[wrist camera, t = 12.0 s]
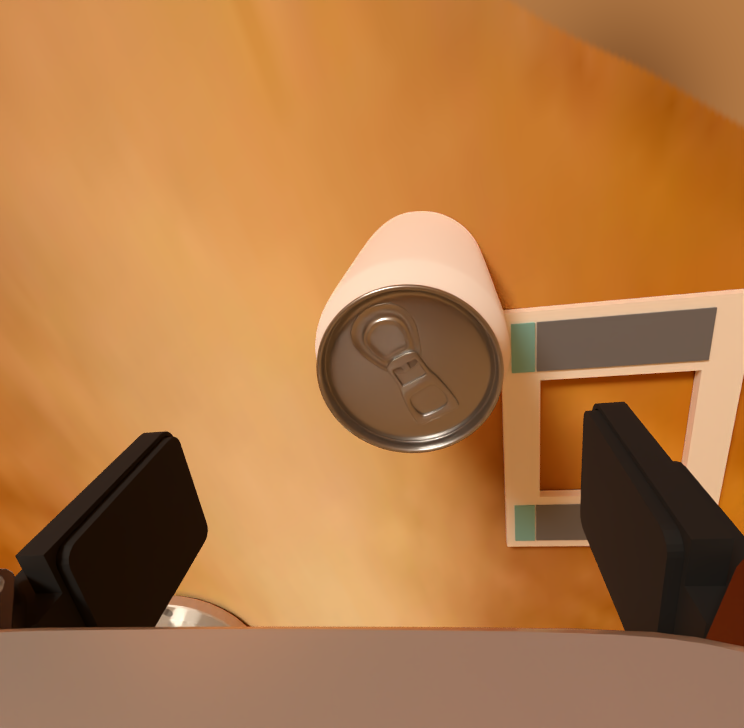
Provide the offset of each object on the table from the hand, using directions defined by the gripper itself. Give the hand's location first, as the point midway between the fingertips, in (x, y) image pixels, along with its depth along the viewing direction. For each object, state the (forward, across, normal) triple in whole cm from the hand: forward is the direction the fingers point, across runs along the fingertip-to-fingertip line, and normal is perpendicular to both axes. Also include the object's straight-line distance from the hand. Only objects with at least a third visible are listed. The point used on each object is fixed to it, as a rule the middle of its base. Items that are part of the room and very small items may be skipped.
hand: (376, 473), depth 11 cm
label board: (+16, -11, +9) cm, 22 cm away
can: (+16, -1, -1) cm, 16 cm away
